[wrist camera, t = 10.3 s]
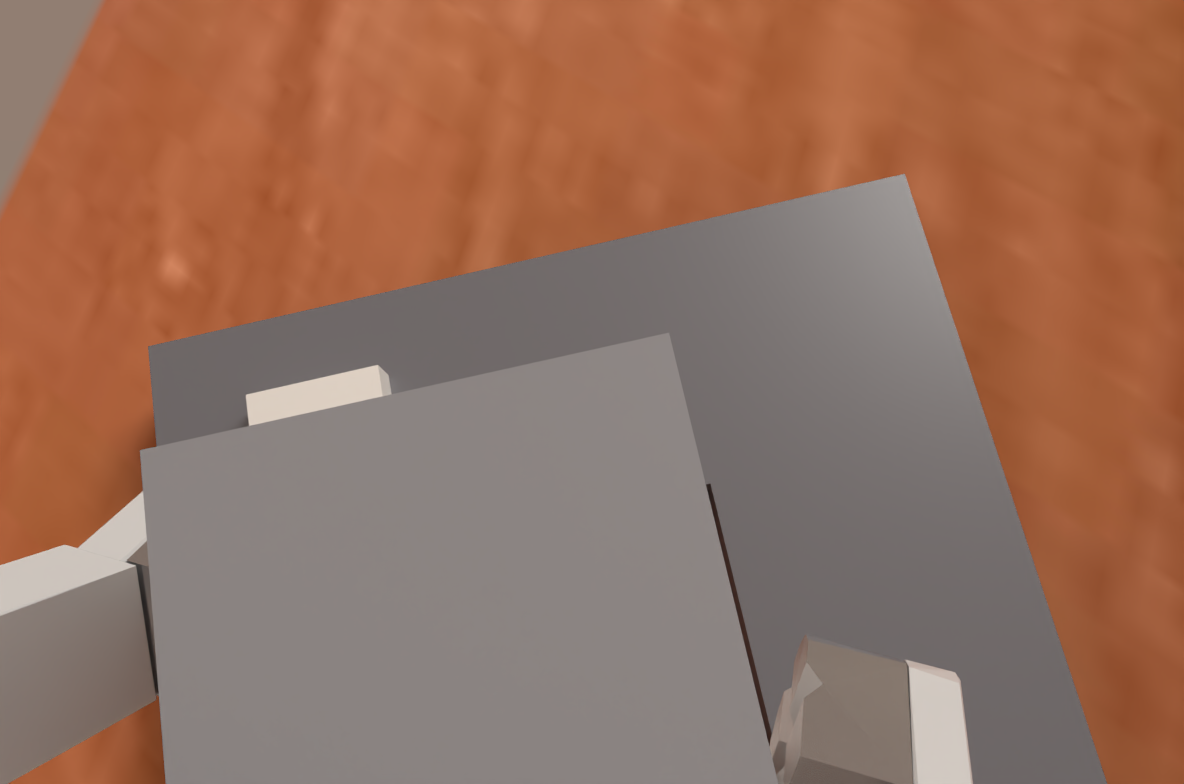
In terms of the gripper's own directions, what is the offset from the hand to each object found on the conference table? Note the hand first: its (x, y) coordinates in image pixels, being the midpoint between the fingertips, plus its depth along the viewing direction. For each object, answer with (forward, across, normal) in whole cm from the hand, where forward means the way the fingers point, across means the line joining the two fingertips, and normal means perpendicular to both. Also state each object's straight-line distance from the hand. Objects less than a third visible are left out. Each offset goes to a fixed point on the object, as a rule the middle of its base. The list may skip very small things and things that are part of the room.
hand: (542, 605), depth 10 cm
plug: (+3, 0, +4) cm, 5 cm away
